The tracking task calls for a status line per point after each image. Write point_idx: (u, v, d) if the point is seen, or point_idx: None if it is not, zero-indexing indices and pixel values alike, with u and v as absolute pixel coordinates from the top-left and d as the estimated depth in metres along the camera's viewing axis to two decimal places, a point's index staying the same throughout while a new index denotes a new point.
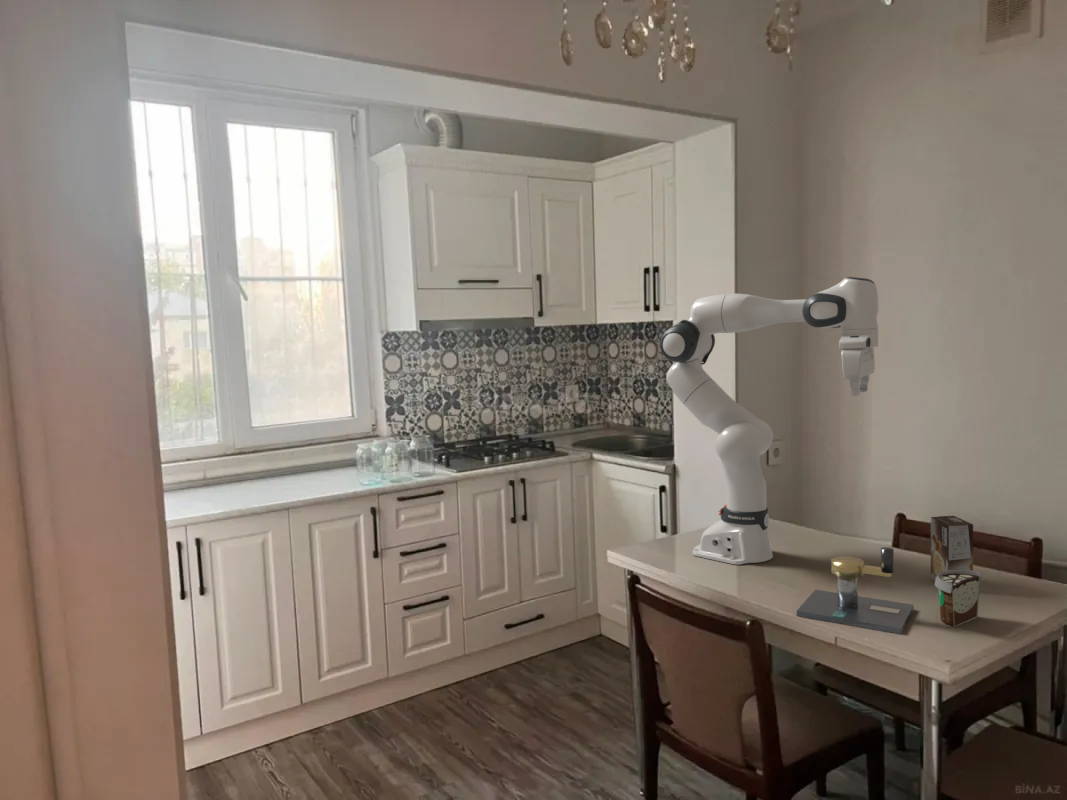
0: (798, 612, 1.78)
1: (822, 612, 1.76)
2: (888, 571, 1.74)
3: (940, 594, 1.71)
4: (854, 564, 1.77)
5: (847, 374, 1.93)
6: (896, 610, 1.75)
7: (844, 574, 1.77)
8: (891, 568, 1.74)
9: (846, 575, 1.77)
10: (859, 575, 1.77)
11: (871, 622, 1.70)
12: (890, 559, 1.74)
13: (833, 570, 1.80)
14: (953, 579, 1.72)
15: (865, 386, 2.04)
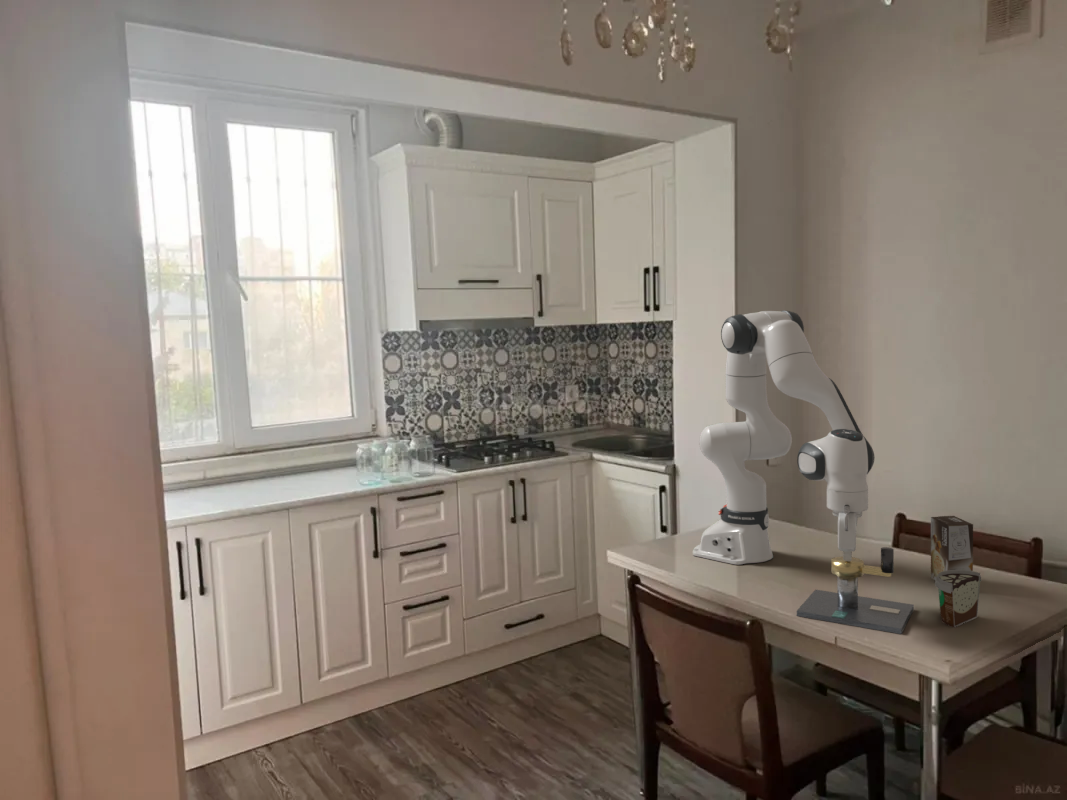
0: (798, 612, 1.78)
1: (822, 612, 1.76)
2: (888, 571, 1.74)
3: (940, 594, 1.71)
4: (854, 564, 1.77)
5: None
6: (896, 610, 1.75)
7: (844, 574, 1.77)
8: (891, 568, 1.74)
9: (846, 575, 1.77)
10: (859, 575, 1.77)
11: (871, 622, 1.70)
12: (890, 559, 1.74)
13: (833, 570, 1.80)
14: (953, 579, 1.72)
15: None
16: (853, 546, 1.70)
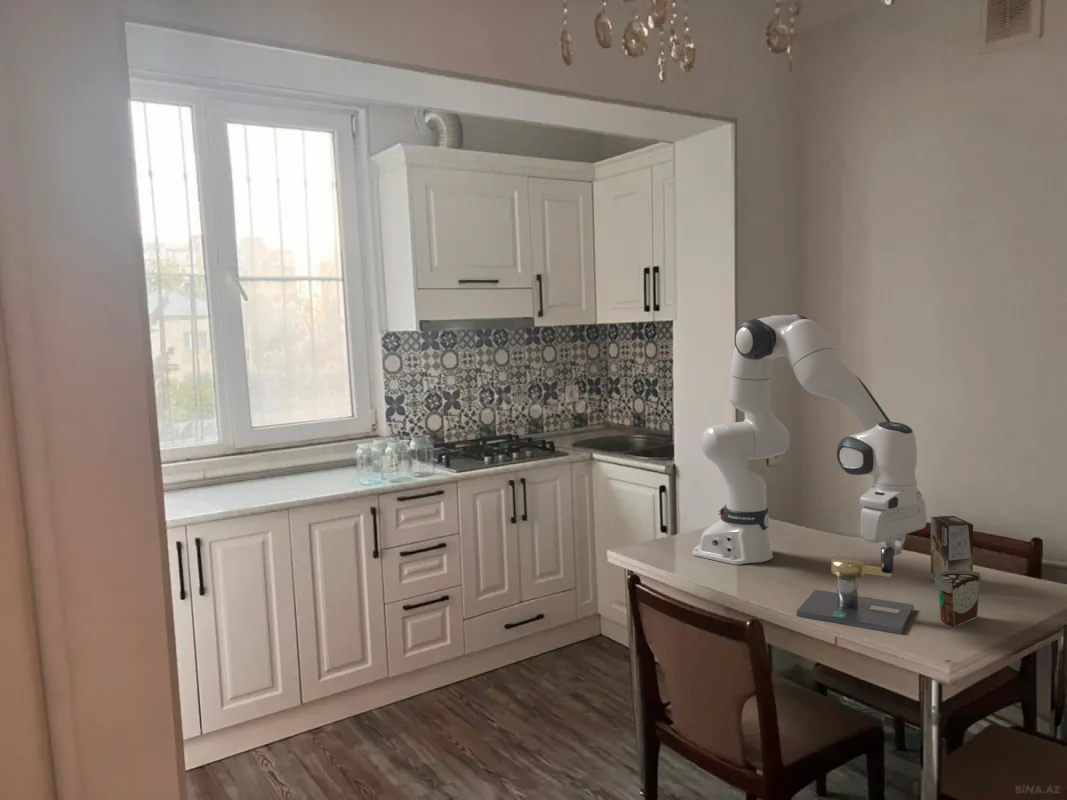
0: (798, 612, 1.78)
1: (822, 612, 1.76)
2: (888, 571, 1.74)
3: (940, 594, 1.71)
4: (854, 564, 1.77)
5: (864, 536, 1.71)
6: (896, 610, 1.75)
7: (844, 574, 1.77)
8: (891, 568, 1.74)
9: (846, 575, 1.77)
10: (859, 575, 1.77)
11: (871, 622, 1.70)
12: (890, 559, 1.74)
13: (833, 570, 1.80)
14: (953, 579, 1.72)
15: None
16: None
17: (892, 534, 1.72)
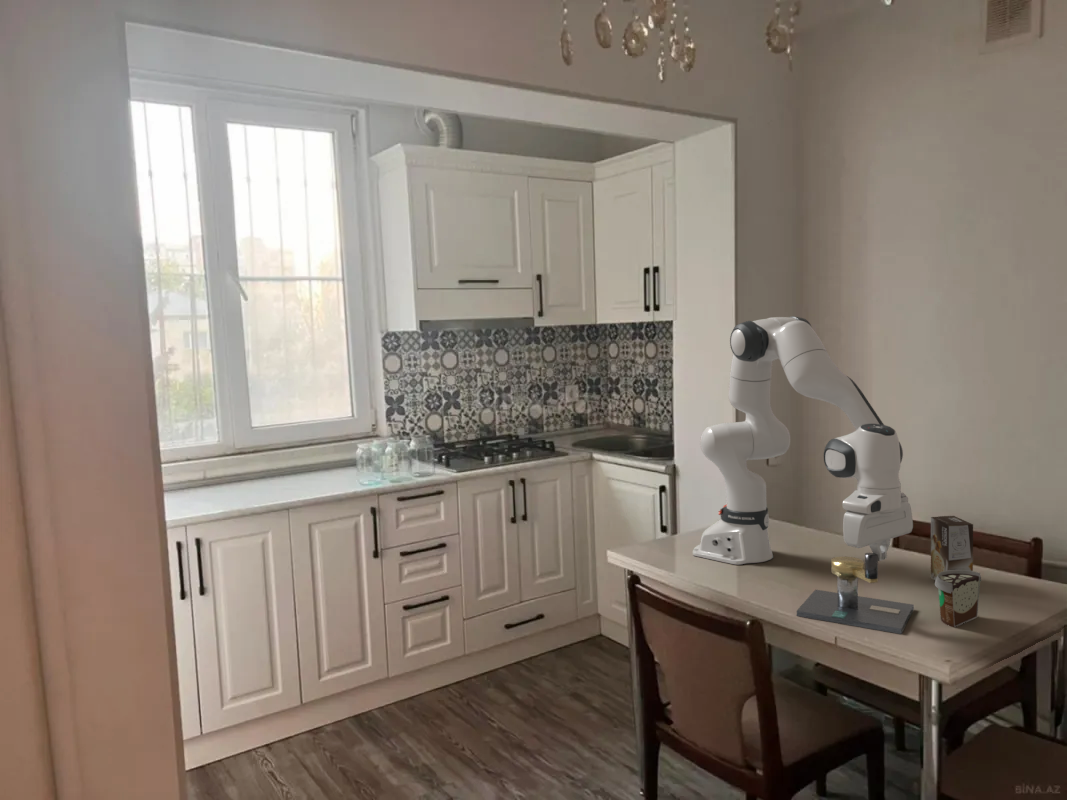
0: (798, 612, 1.78)
1: (822, 612, 1.76)
2: (868, 576, 1.71)
3: (940, 594, 1.71)
4: (845, 564, 1.78)
5: (847, 541, 1.67)
6: (896, 610, 1.75)
7: (834, 571, 1.79)
8: (871, 574, 1.71)
9: (835, 573, 1.79)
10: (848, 576, 1.77)
11: (871, 622, 1.70)
12: (870, 565, 1.71)
13: None
14: (953, 579, 1.72)
15: None
16: None
17: (876, 538, 1.68)
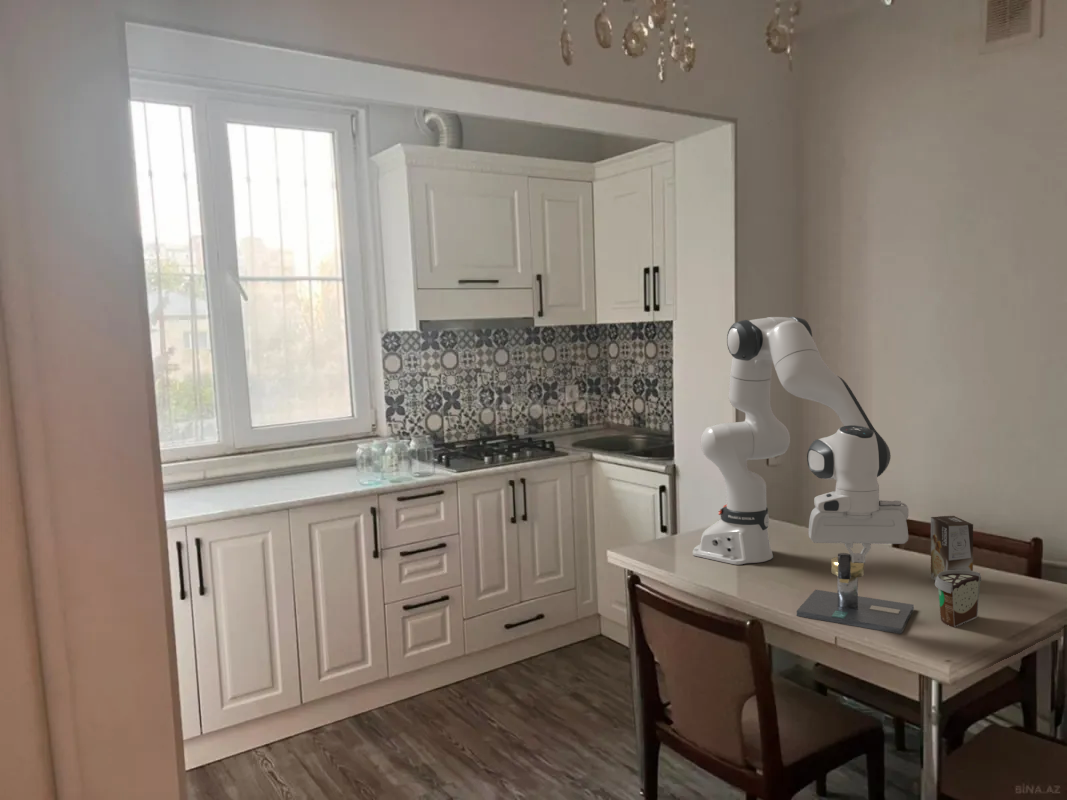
0: (798, 612, 1.78)
1: (822, 612, 1.76)
2: (838, 575, 1.73)
3: (940, 594, 1.71)
4: (838, 562, 1.79)
5: None
6: (896, 610, 1.75)
7: (831, 568, 1.82)
8: (840, 573, 1.72)
9: (831, 570, 1.81)
10: (838, 574, 1.78)
11: (871, 622, 1.70)
12: (839, 564, 1.72)
13: None
14: (953, 579, 1.72)
15: None
16: None
17: (840, 538, 1.70)
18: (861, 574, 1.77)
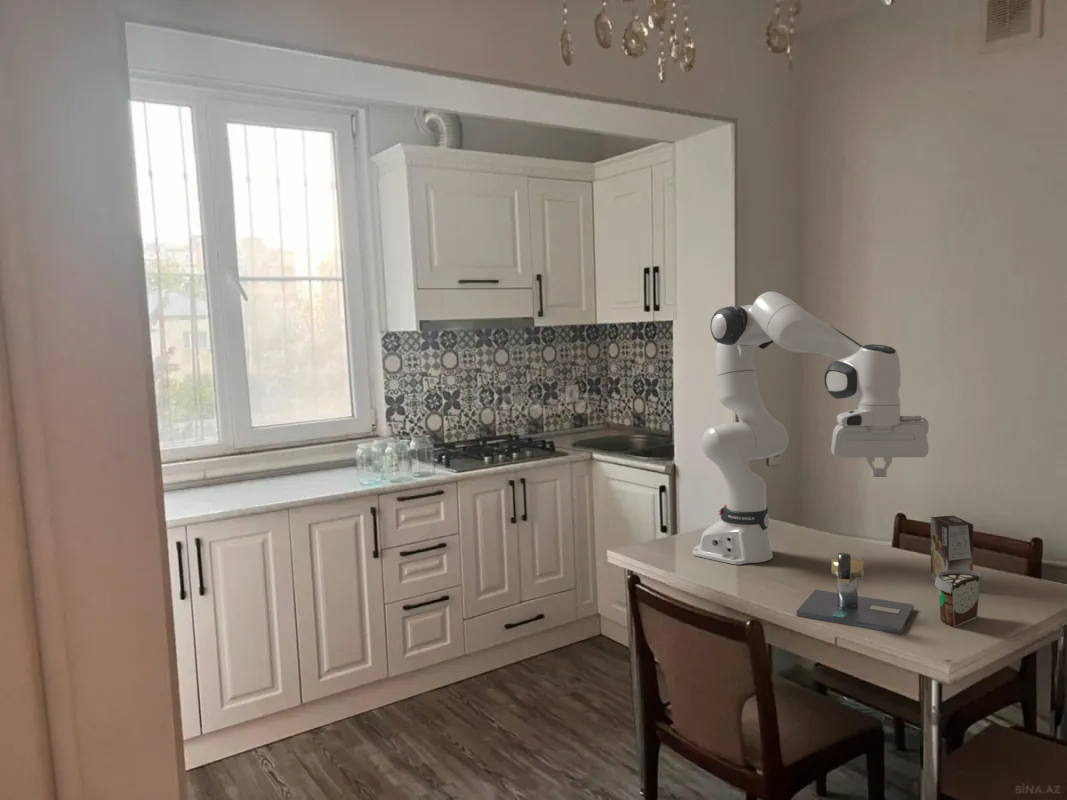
0: (798, 612, 1.78)
1: (822, 612, 1.76)
2: (838, 575, 1.73)
3: (940, 594, 1.71)
4: (838, 562, 1.79)
5: None
6: (896, 610, 1.75)
7: (831, 568, 1.82)
8: (840, 573, 1.72)
9: (831, 570, 1.81)
10: (838, 574, 1.78)
11: (871, 622, 1.70)
12: (839, 564, 1.72)
13: None
14: (953, 579, 1.72)
15: None
16: None
17: (862, 453, 1.76)
18: (861, 574, 1.77)
